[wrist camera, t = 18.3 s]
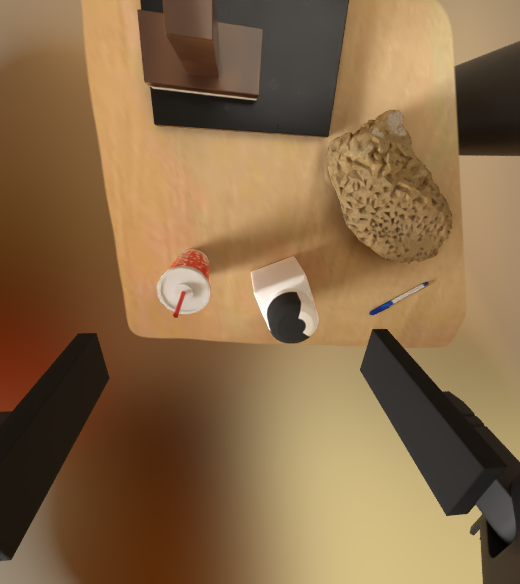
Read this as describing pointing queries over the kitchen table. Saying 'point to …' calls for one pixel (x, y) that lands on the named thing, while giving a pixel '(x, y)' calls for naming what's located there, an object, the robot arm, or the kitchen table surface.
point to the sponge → (388, 191)
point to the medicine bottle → (286, 300)
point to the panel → (270, 71)
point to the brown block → (199, 51)
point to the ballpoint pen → (397, 299)
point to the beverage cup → (186, 283)
